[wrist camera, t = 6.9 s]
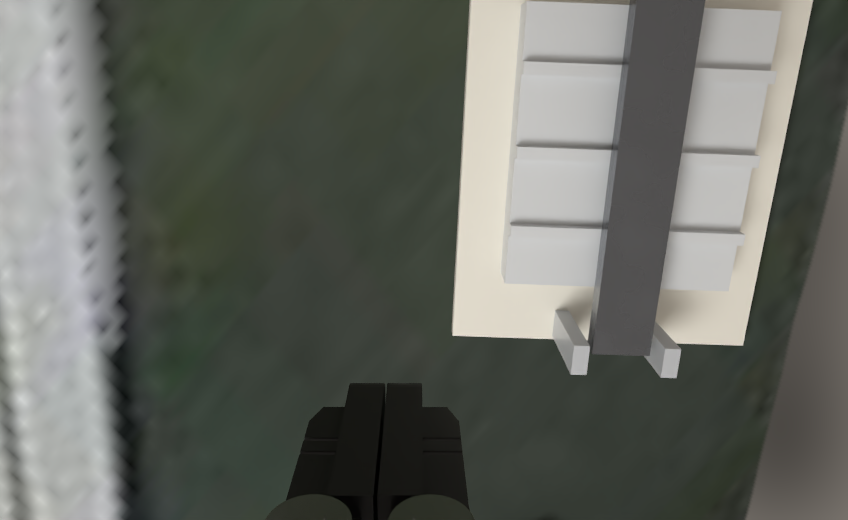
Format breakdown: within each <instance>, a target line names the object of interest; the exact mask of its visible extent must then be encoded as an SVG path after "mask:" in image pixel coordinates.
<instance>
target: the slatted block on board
mask: <svg viewBox="0 0 848 520" xmlns="http://www.w3.org/2000/svg"><path fill="white" fill-rule="evenodd" d="M812 3H813V0H705V6H704V13H703V19H702V25H701V32H700V38H699V45H698V51H697V57H696V64H695V70H694V76H693V83H692V89H691V96H690V102H689V108H688V115H687V121H686V128H685V134H684V140H683V147H682V153H681V159H680V166H679V172H678V179H677V185H676V191H675V198H674V204H673V210H672V217H671V223H670V230H669V236H668V242H667V249H666V255H665V262H664V268H663V274H662V281H661V287H660V293H659V300H658V306H657V313H656V319H655V325H654V332H653V338H652V344H651V351H650V356H645V358H646V359H647V360H648V362H649V363H650V364H651V365H652V367H653V368H654V369H655V371H656V372H657V373H658V375H659V376H660V377H661V378H676V377H677V371H678V365H679V360H680V354H681V348H680V347H679V346H678V345H677V344H676V343H683V344H712V345H742V346H743V342H744V337H745V332H746V328H747V323H748V318H749V313H750V308H751V303H752V298H753V293H754V288H755V283H756V278H757V273H758V269H759V264H760V259H761V254H762V249H763V244H764V239H765V234H766V229H767V224H768V219H769V214H770V210H771V205H772V200H773V195H774V190H775V185H776V180H777V175H778V170H779V165H780V160H781V155H782V151H783V146H784V141H785V136H786V131H787V126H788V121H789V116H790V111H791V106H792V101H793V96H794V92H795V87H796V82H797V77H798V72H799V67H800V62H801V57H802V52H803V47H804V42H805V37H806V33H807V28H808V23H809V18H810V13H811V8H812ZM629 4H630V0H470V3H469V21H468V40H467V58H466V77H465V95H464V113H463V132H462V150H461V169H460V187H459V205H458V224H457V242H456V261H455V279H454V298H453V316H452V335H453V336H478V337H507V338H536V339H554V341H555V343H556V345H557V347H558V349H559V351H560V353H561V355H562V357H563V359H564V361H565V364H566V366H567V368H568V370H569V372H570V374H572V375H586V374H587V366H588V358H589V350H590V345H589V344H588V342H587V340H588V335H589V327H590V319H591V311H592V303H593V295H594V287H595V279H596V271H597V263H598V255H599V247H600V238H601V230H602V222H603V214H604V206H605V198H606V190H607V182H608V174H609V166H610V158H611V150H612V142H613V134H614V126H615V117H616V109H617V101H618V93H619V85H620V77H621V69H622V61H623V53H624V45H625V37H626V29H627V21H628V13H629Z"/></svg>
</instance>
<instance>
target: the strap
mask: <svg viewBox="0 0 848 520" xmlns="http://www.w3.org/2000/svg"><path fill="white" fill-rule="evenodd" d="M704 6H705V0H630V4H629V13H628V21H627V29H626V37H625V45H624V53H623V61H622V69H621V77H620V85H619V93H618V101H617V109H616V117H615V126H614V134H613V142H612V150H611V158H610V166H609V174H608V182H607V190H606V198H605V206H604V214H603V222H602V230H601V238H600V247H599V255H598V263H597V271H596V279H595V287H594V295H593V303H592V311H591V319H590V327H589V335H588V344H589V345H590V351H591V353H592V354H606V355H635V356H650V351H651V344H652V338H653V332H654V325H655V319H656V313H657V306H658V300H659V293H660V287H661V281H662V274H663V268H664V262H665V255H666V249H667V242H668V236H669V230H670V223H671V217H672V210H673V204H674V198H675V191H676V185H677V179H678V172H679V166H680V159H681V153H682V147H683V140H684V134H685V128H686V121H687V115H688V108H689V102H690V96H691V89H692V83H693V76H694V70H695V64H696V57H697V51H698V45H699V38H700V32H701V25H702V19H703V13H704Z"/></svg>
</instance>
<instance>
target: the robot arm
mask: <svg viewBox="0 0 848 520" xmlns="http://www.w3.org/2000/svg"><path fill="white" fill-rule="evenodd" d="M266 520H475V519H474V517H473V515H472V514H471V512H470V510H469V505H468V497H467V488H466V479H465V471H464V462H463V455H462V445H461V436H460V427H459V421H458V420H457V419H456V417H455V416H454V415H453V414H452V413H451V411H450V410H449V409H448V408H447V407H422V383H388V384H387V394H386V405H385V383H350V385H349V390H348V395H347V400H346V405H345V407H323V408H322V409H321V410H320V411H319V412H318V413H317V414H316V415H315V416H314V417H313V418H312V419H311V420H310V421H309V424H308V427H307V431H306V434H305V439H304V441H303V444H302V448H301V453H300V455H299V458H298V461H297V465H296V468H295V472H294V475H293V478H292V482H291V485H290V489H289V492H288V495H287V499H286V501H285V502H283V503H281V504H280V505H278V506H277V507H275V508H274V509H273V510H272V511H271V512H270V513H269V515H268V516H267V518H266Z"/></svg>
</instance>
